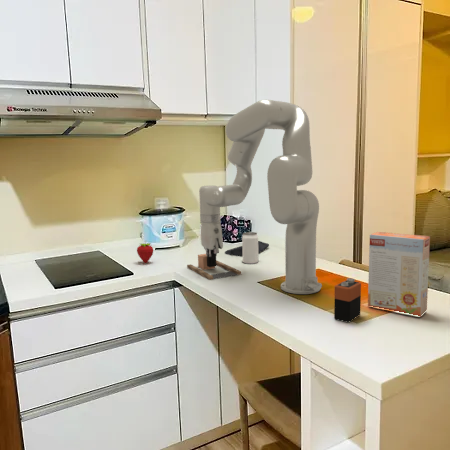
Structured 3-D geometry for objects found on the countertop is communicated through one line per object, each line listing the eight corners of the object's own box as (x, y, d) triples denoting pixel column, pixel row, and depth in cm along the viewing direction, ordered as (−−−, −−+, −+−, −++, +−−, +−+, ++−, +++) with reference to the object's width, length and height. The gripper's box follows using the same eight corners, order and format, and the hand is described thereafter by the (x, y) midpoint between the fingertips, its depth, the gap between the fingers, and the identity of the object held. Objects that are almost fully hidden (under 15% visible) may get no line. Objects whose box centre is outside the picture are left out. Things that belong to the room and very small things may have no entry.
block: (215, 268, 163) (214, 255, 162) (203, 269, 161) (203, 257, 160) (209, 265, 167) (209, 253, 167) (198, 267, 165) (197, 254, 164)
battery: (360, 315, 111) (361, 279, 109) (349, 323, 106) (349, 285, 104) (345, 312, 114) (346, 276, 112) (333, 319, 109) (333, 282, 107)
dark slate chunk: (274, 249, 196) (274, 239, 196) (250, 259, 179) (250, 248, 178) (247, 246, 205) (246, 236, 204) (221, 255, 187) (220, 244, 186)
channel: (241, 274, 153) (241, 271, 153) (209, 279, 147) (209, 276, 147) (216, 263, 171) (216, 260, 170) (187, 267, 165) (187, 264, 164)
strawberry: (144, 260, 179) (143, 237, 177) (157, 262, 174) (156, 239, 173) (134, 263, 174) (132, 239, 172) (147, 265, 170) (145, 241, 168)
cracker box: (427, 312, 111) (431, 235, 108) (420, 319, 107) (423, 239, 104) (375, 301, 121) (377, 230, 117) (366, 307, 116) (369, 233, 113)
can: (258, 260, 174) (258, 231, 172) (258, 264, 168) (257, 234, 166) (243, 260, 175) (242, 231, 173) (242, 264, 168) (241, 234, 166)
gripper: (228, 220, 152) (229, 269, 155) (210, 215, 165) (211, 261, 168) (210, 222, 148) (211, 272, 151) (193, 217, 162) (194, 263, 164)
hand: (211, 266), depth 160 cm, fingers closed
